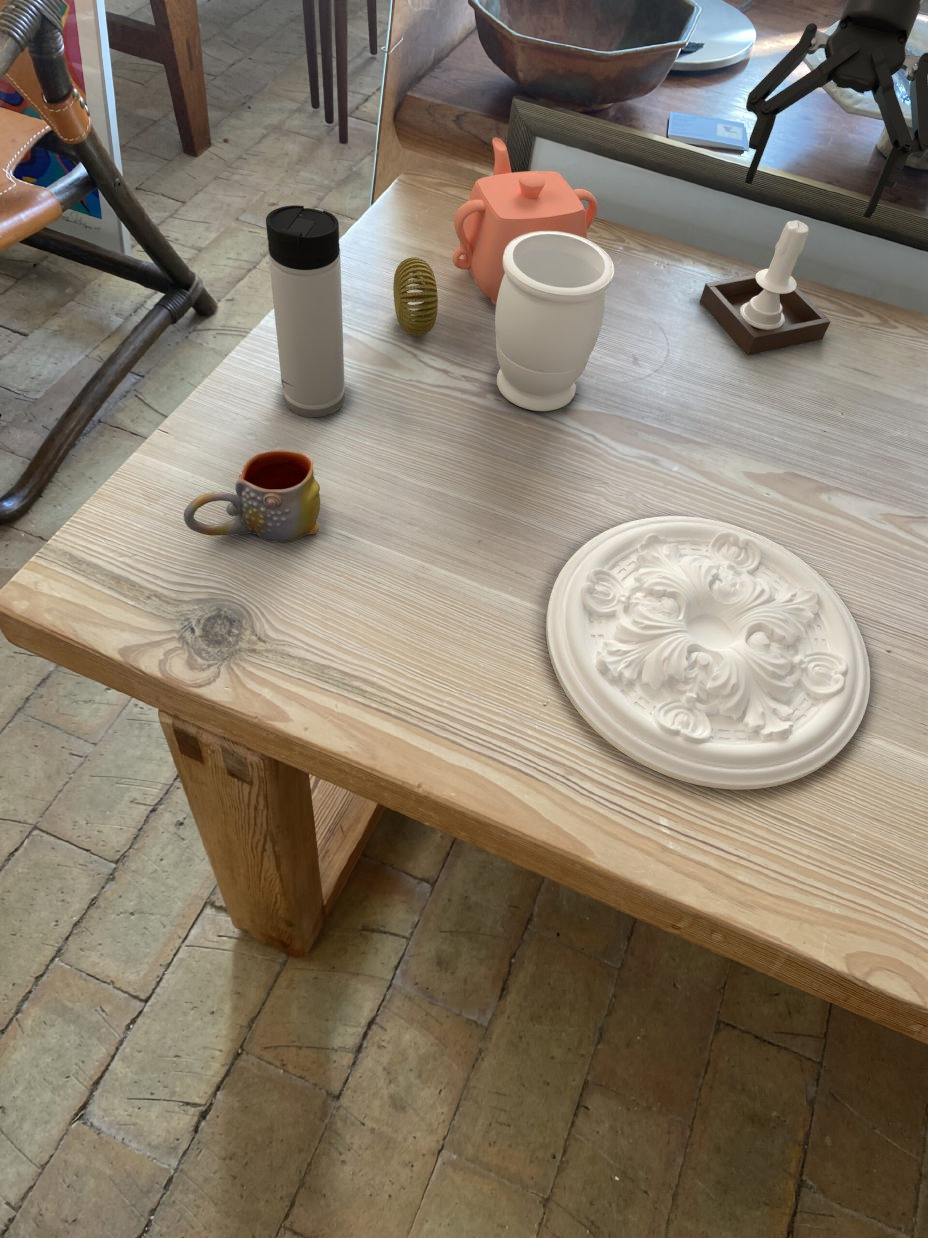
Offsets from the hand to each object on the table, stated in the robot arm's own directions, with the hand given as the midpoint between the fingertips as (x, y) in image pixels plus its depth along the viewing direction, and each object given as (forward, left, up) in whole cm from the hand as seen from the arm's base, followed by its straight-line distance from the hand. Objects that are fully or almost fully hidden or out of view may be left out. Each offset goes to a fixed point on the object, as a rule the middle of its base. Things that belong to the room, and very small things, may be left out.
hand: (808, 196), depth 102 cm
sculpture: (+5, +44, -12) cm, 46 cm away
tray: (-5, +4, -12) cm, 14 cm away
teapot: (+10, +29, -12) cm, 34 cm away
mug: (-18, +68, -12) cm, 72 cm away
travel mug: (-3, +58, -12) cm, 60 cm away
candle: (-5, +4, -12) cm, 13 cm away
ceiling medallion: (-43, +35, -12) cm, 57 cm away
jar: (-8, +35, -12) cm, 38 cm away
